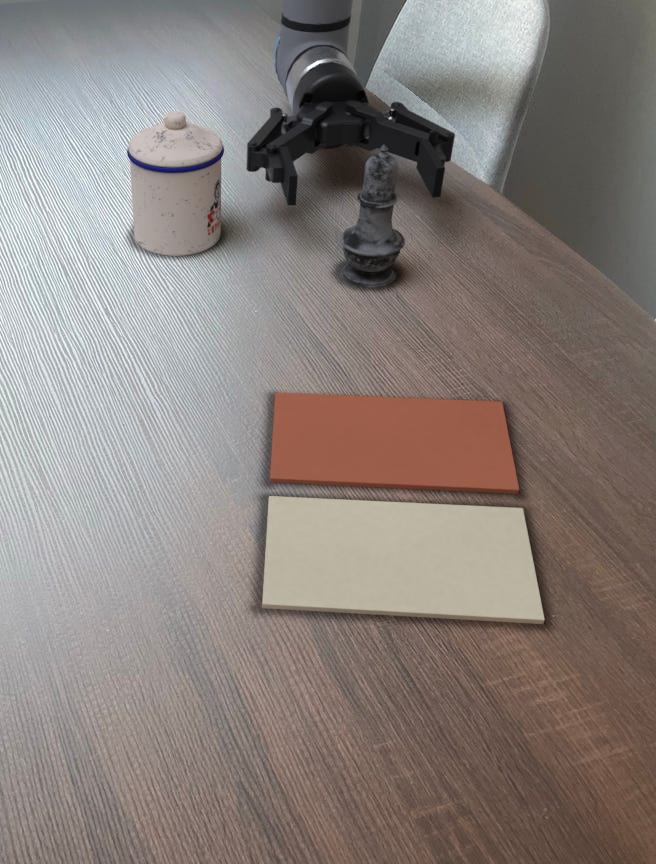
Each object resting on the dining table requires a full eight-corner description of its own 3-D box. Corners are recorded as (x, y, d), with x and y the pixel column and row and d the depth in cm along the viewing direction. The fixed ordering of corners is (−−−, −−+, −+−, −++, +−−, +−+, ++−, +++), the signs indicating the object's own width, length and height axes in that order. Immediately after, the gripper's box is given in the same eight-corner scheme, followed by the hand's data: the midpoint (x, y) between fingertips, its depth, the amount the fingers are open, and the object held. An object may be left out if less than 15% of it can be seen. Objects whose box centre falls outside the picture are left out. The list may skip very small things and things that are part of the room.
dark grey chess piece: (409, 269, 97) (429, 138, 88) (384, 297, 93) (403, 163, 85) (351, 255, 99) (366, 125, 90) (326, 282, 96) (338, 150, 87)
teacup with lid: (229, 255, 99) (231, 130, 91) (136, 262, 99) (129, 137, 90) (211, 200, 108) (211, 81, 99) (125, 207, 107) (118, 87, 98)
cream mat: (521, 514, 73) (523, 507, 73) (542, 626, 66) (545, 619, 65) (268, 501, 74) (268, 495, 74) (261, 610, 67) (262, 603, 67)
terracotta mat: (500, 407, 82) (502, 401, 81) (517, 496, 74) (519, 489, 74) (274, 398, 83) (275, 392, 83) (269, 484, 76) (270, 478, 75)
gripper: (436, 130, 112) (490, 219, 98) (209, 142, 111) (230, 233, 97) (448, 55, 106) (507, 137, 92) (210, 67, 106) (232, 152, 91)
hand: (365, 187), depth 95 cm, fingers open, 13 cm apart
